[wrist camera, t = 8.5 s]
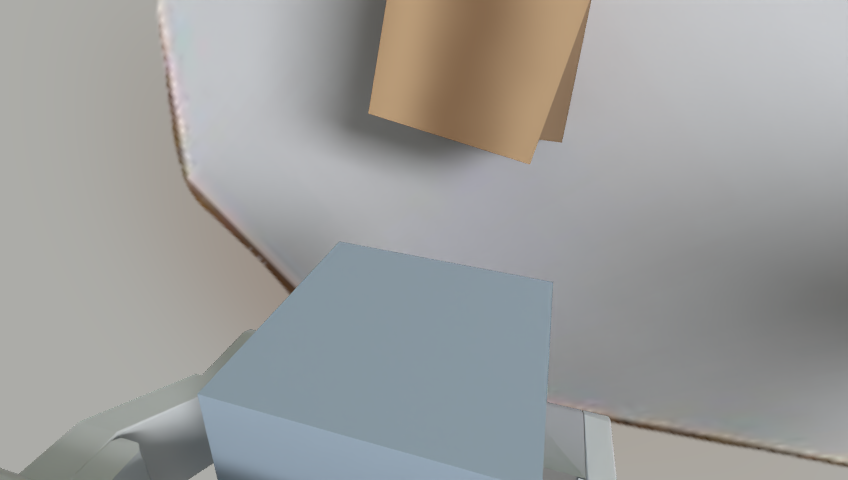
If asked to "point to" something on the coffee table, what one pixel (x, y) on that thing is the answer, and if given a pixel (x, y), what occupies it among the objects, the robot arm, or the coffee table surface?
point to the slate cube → (388, 376)
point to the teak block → (475, 68)
